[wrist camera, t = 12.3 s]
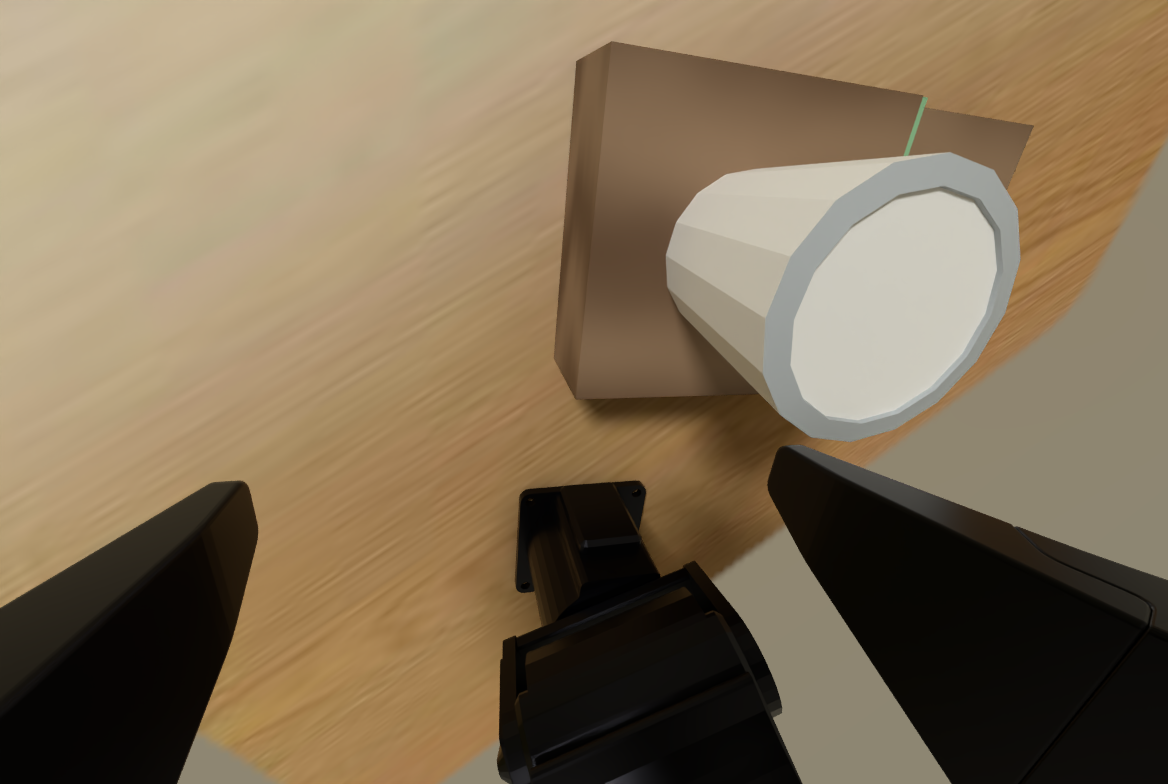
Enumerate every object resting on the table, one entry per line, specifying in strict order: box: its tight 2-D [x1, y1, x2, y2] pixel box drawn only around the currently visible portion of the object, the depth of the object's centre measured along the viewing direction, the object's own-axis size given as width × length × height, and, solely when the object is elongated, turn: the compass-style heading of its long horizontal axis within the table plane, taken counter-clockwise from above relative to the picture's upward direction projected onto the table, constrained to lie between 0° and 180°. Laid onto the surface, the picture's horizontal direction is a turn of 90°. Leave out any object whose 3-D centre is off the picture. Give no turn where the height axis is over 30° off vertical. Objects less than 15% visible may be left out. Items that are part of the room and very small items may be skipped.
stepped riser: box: [554, 41, 1034, 399], centre depth 20 cm, size 11×19×4 cm, turn 84°
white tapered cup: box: [666, 152, 1020, 442], centre depth 15 cm, size 7×7×7 cm
